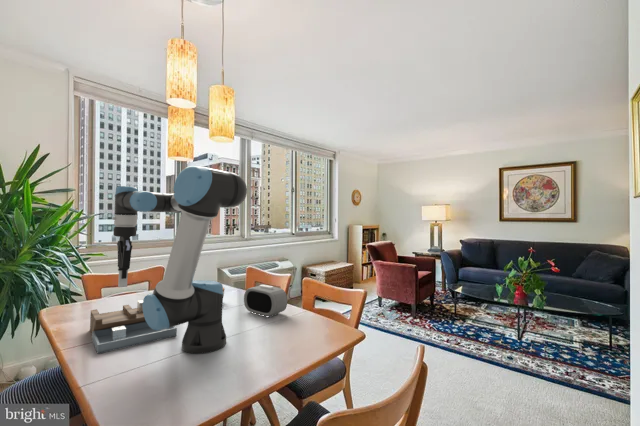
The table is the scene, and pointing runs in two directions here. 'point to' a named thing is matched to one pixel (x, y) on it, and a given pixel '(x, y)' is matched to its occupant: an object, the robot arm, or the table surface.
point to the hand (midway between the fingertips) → (122, 286)
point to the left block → (118, 333)
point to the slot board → (115, 318)
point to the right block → (140, 306)
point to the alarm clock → (265, 300)
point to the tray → (130, 336)
